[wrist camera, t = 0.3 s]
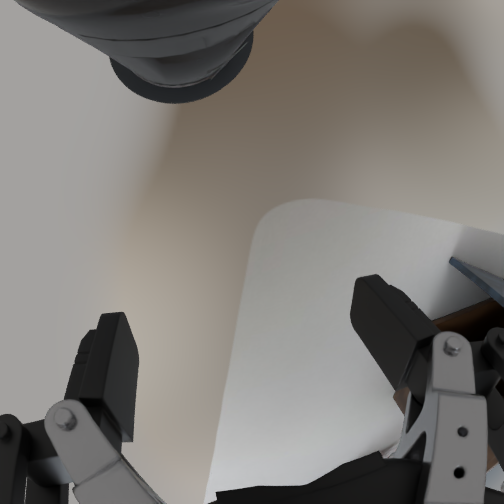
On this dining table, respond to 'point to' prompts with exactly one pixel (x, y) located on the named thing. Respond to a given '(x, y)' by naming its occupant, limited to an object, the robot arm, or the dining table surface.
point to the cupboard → (473, 329)
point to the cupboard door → (482, 279)
